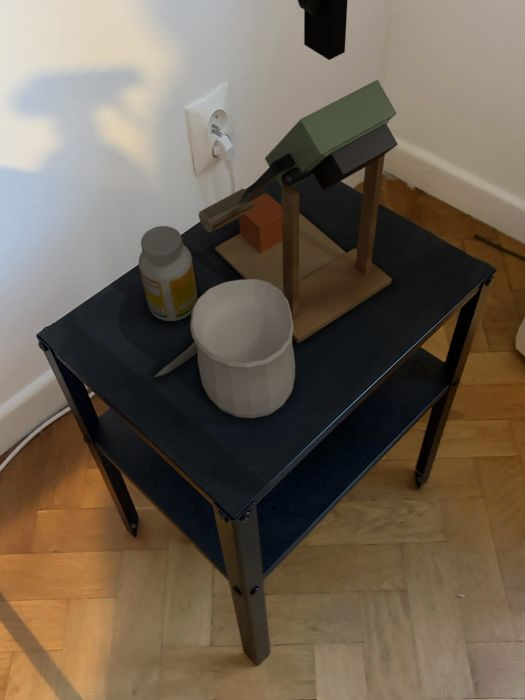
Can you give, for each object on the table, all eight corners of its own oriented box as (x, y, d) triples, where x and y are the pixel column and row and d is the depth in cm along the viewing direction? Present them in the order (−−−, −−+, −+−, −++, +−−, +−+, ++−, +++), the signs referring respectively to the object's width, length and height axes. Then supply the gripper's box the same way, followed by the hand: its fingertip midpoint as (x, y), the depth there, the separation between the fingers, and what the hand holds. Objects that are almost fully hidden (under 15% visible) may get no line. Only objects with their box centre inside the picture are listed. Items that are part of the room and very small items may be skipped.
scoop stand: (262, 308, 78) (255, 179, 63) (354, 252, 82) (366, 119, 68) (298, 343, 75) (298, 216, 60) (391, 283, 79) (412, 151, 65)
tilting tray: (221, 258, 70) (192, 208, 69) (346, 186, 75) (319, 140, 75) (275, 212, 55) (239, 150, 55) (425, 128, 61) (393, 71, 60)
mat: (346, 255, 82) (346, 253, 81) (268, 303, 78) (268, 300, 78) (290, 207, 87) (290, 204, 86) (214, 250, 83) (214, 247, 83)
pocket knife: (255, 308, 78) (254, 296, 76) (260, 312, 77) (260, 300, 76) (152, 380, 73) (149, 368, 71) (157, 385, 72) (154, 374, 71)
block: (237, 208, 80) (259, 227, 78) (266, 192, 82) (288, 211, 80) (239, 234, 84) (260, 253, 82) (267, 218, 85) (288, 237, 83)
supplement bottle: (147, 324, 77) (130, 261, 69) (150, 285, 80) (134, 222, 72) (198, 321, 77) (187, 258, 69) (199, 283, 80) (188, 219, 72)
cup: (253, 324, 76) (248, 260, 68) (319, 383, 72) (322, 321, 64) (181, 375, 73) (167, 314, 65) (245, 440, 68) (239, 383, 60)
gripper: (383, -459, 37) (355, -3, 56) (173, -421, 33) (219, 61, 52) (497, -448, 34) (427, 35, 52) (278, -404, 29) (287, 108, 48)
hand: (324, 48), depth 52 cm, fingers closed
